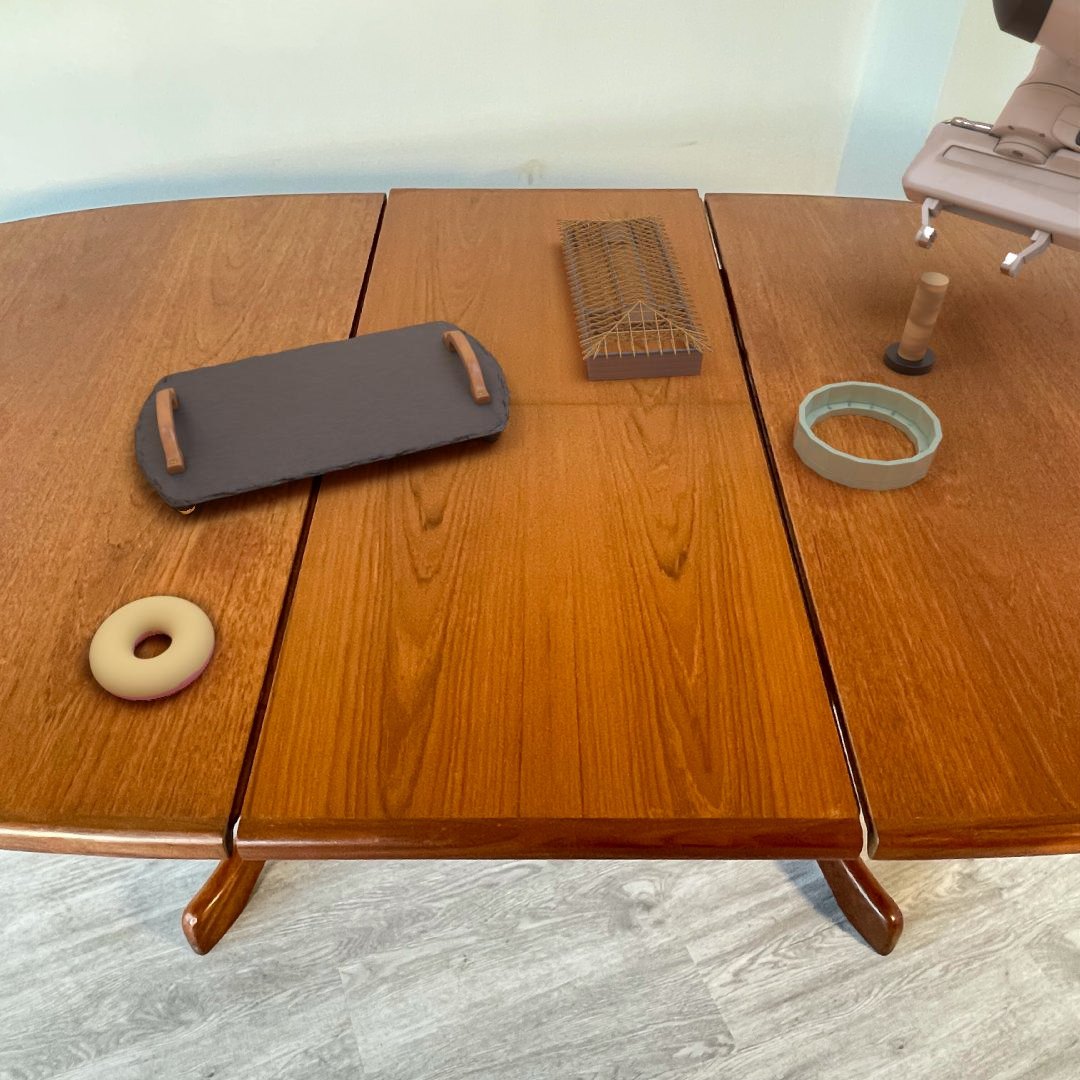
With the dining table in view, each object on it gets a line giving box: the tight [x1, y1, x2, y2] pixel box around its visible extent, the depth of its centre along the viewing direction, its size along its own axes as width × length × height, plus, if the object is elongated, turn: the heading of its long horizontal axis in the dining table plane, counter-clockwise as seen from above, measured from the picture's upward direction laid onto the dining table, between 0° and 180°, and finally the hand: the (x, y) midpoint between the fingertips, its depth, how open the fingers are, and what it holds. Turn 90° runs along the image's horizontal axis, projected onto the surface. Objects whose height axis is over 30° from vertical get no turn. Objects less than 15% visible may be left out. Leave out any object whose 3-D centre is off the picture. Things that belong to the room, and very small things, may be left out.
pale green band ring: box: [792, 380, 943, 492], centre depth 86 cm, size 13×13×5 cm
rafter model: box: [555, 213, 714, 382], centre depth 109 cm, size 35×14×6 cm, turn 4°
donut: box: [88, 595, 216, 701], centre depth 71 cm, size 10×5×9 cm
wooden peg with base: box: [882, 271, 950, 377], centre depth 94 cm, size 5×5×12 cm
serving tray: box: [133, 320, 511, 511], centre depth 92 cm, size 39×23×6 cm, turn 110°
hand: (962, 259), depth 92 cm, fingers open, 8 cm apart
